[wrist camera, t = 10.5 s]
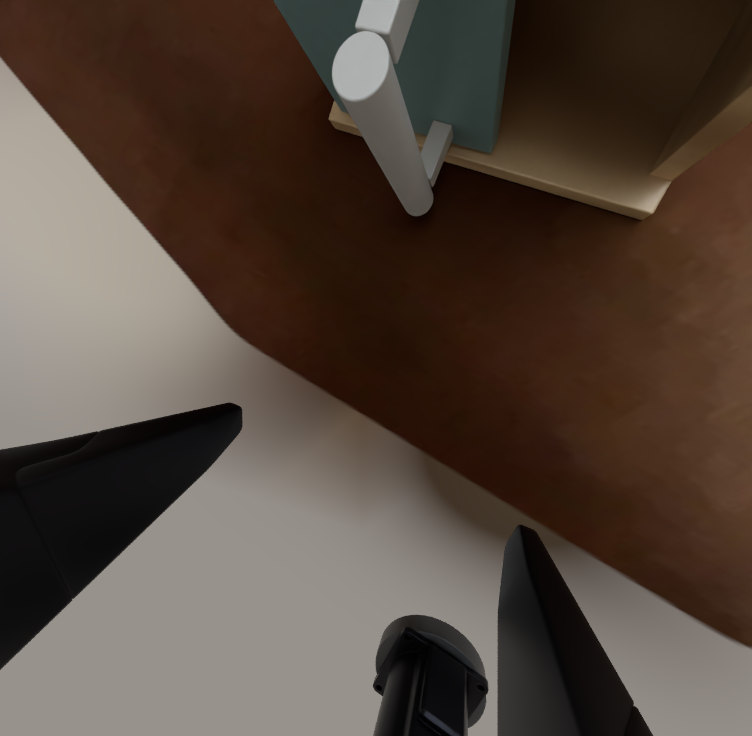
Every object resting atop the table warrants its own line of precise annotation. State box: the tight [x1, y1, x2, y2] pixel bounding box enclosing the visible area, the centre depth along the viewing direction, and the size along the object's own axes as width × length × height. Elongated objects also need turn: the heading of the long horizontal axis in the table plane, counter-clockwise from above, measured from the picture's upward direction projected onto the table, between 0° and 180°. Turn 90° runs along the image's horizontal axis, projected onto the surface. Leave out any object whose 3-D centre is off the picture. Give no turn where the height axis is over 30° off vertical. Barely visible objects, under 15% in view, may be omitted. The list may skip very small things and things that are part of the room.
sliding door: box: [273, 0, 516, 216], centre depth 13 cm, size 5×9×10 cm, turn 67°
